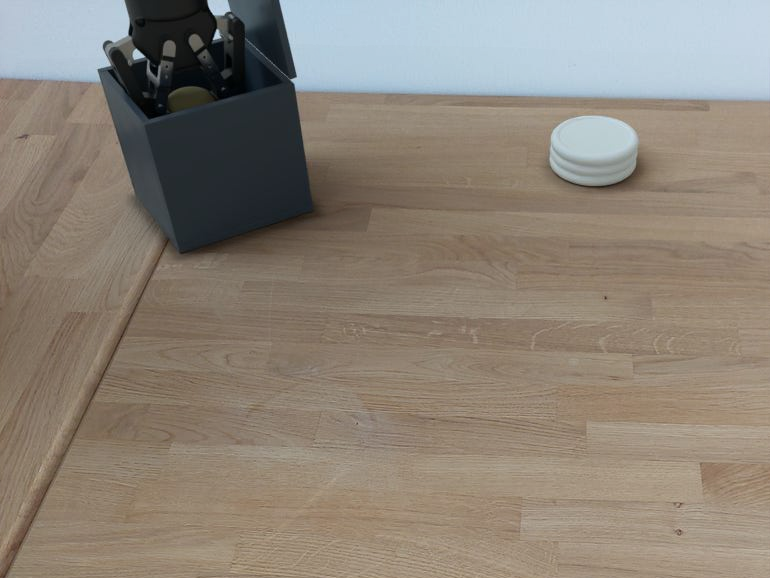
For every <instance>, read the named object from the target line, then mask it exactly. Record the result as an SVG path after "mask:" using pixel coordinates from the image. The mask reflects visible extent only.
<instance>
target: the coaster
mask: <svg viewBox="0 0 770 578" xmlns="http://www.w3.org/2000/svg"><path fill="white" fill-rule="evenodd" d="M550 135H551V136H550V147H549V153H550V154H549V164H550V167H551V170H552V171H553V172H554V173H555V174H556V175H557V176H559V177H560V178H562V179H563V180H565V181H567V182H569V183H572V184H576V185H580V186H587V187H602V186H610V185H614V184H618V183H619V182H622V181H624V180H625V179H627V178H629V177H630V176H631V175H632V174H633V173H634V171H635V169H636V167H637V158H638V153H639V150H638V148H639V145H640V139H639V135H638V133H637V132H636V131H635V129H634V128H633V127H632V126H630V124H627V123H626V122H624V121H622V120H620V119H617V118H614V117H609V116H604V115H580V116H575V117H572V118H569V119H567V120H565V121H562V122H561V123H560V124H558V125H557V126H556V127H555V128H554V129H553V131H552V132H551V134H550Z"/></svg>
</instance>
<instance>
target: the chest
mask: <svg viewBox="0 0 770 578" xmlns="http://www.w3.org/2000/svg"><path fill="white" fill-rule="evenodd" d="M209 54H210V55H211V57H212V59H213V60H214V62H215V64H216V65H217V67H218V69H219V70H220V73H221V72H223V71H224V39H223V38H221V37H219V38H214V39H213V41H212V44H211V47H210V50H209ZM147 62H148V59H147V58H146V57H145V56H144V57H141V58H136V59H134V63H133V65H132V66H131V67H130V69H131V71H132V73H133V75H134V77H135V79H136V81H137V83H138V85H139V87H140V89H141V91H142V92H147V85H148V77H147ZM96 71H97V74H98V77H99V80H100V84H101V86H102V91H103V93H104V97H105V100H106V103H107V107H108V109H109V110H108V111H109V113H110V117H111V119H112V123H113V127H114V129H115V132H116V136H117V139H118V142H119V147H120V150H121V152H122V156H123V159H124V162H125V166H126V169H127V172H128V175H129V178H130V182H131V186H132V189H133V192H134V195H135V197H136V198H137V199H138V201H139V202H140V203H141V205H143V207H144V209H146V211H147V213H148V214H149V215H150V217H151V218H152V219H153V220H154V221H155V223H156V225H158V227H159V228H160V229H161V230H162V232H163V233H164V235H165V236H166V237H167V238H168V240H169V241H170V242H171V244H172V245H173V246H174V248H175V249H176V250H177V252H178V253H179V254H183V253H187V252H189V251H192V250H196V249H199V248H202V247H206V246H208V245H211V244H214V243H217V242H221V241H223V240H227V239H230V238H233V237H236V236H239V235H243V234H245V233H249V232H252V231H255V230H258V229H261V228H264V227H267V226H270V225H273V224H277V223H281V222H282V221H286V220H290V219H292V218H295V217H299V216H302V215H305V214H307V213H311V212H313V211H314V205H313V197H312V190H311V184H310V178H309V171H308V165H307V158H306V152H305V151H306V150H305V144H304V138H303V131H302V127H301V126H302V124H301V117H300V112H299V111H300V110H299V105H298V98H297V91H296V86H295V83H294V81H292V79H291V80H290V79H289V78H288V77H287V76H286V75H285V74H284V73H283V72H281V71H280V70H279V69H278V68H277V67H276V66H275V65H274V64H273V63H272V62H271V61H269V60H268V59H267V58H266V57H265V56H264V55H263V54H262V53H261V52H260V51H259V50H258V49H256V48H255V47H254V46H253V45H252V44H251V43H250V42H249V41H248V40H247V39H246V38H245V82H244V84H243V85H242V86H236V87H234V88H233V89H232V90H231V91H230V94H229V98H226V99H223V100H219V101H215V102H212V103H208V104H204V105H201V106H197V107H193V108H190V109H186V110H182V111H179V112H175V113H171V114H168V115H164V116H160V117H157V118H153V116H152V113H151V111H144V112H142V111H141V110H140V109H139V107H138V106H137V105H136V104H135V103H134V102H133V100H132V99H131V98H130V97H129V96H128V95H127V93H126V92H125V91H124V89H123V87H122V85H121V83H120V81H119V79H118V78H117V76H116V74H115V72H114V70H113V68H112V66H111V65H108V66H105V67H100V68H97V70H96ZM190 86H193V87H200V88H203V89H205V90H207V91H209V92H210V91H212V87H211V85H210V83H209V82H208V80H207V79H206V77H205V75H204V74H203V72H202V71H201V69H197V70H185V71H183V72H181V73H180V74H177V75H174V76H172V83H171V89H170V90H169V93H168V96H169V94H171V93H172V92H173V91H175V90H177V89H179V88H183V87H190Z"/></svg>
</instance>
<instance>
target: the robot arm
mask: <svg viewBox="0 0 770 578" xmlns="http://www.w3.org/2000/svg"><path fill="white" fill-rule="evenodd" d="M208 1H209V0H124V4H125V7H126V12H127V14H128V19H129V20H128V21H129V26H128V30H127V34H128V35H126V36H124V37H122V38H121V39H119V40H117V41H115V42H114V41H112V40H110V39H107V40H105V41H104V42H103V43H102V50H103V52H104V54H105V57H106V58H107V61H108V62H109V64H110V66H112V68H113V70H114V72H115V74H116V76H117V78H118V79H119V81H120V83H121V85H122V87H123V89H124V91H125V92H126V93H127V95H128V96H129V97H130V98H131V99H132V100H133V102H134V103H135V104H136V105H137V106H138V107H139V109H140V110H141V111H142V112H144V111H151V113H152V116H153V118H157V117H160V116H164V115H168V114H170V112H169V111H168V110H167V103H168V93H169V90H170V89H171V83H172V76H174V75H177V74H180V73H181V72H183V71H185V70H197V69H201V71H202V72H203V74H204V75H205V77H206V79H207V80H208V82H209V83H210V85H211V87H212V91H210V94H211V95H212V96H213V97H214V99H215V101H219V100H223V99H226V98H229V94H230V91H231V90H232V89H233V88H234V87H236V86H242V85H243V84H244V82H245V39H246V38H245V25H244V23H243V22H242V21H241V20H240V19H239V18H238V17H237V16H236V15H235V14H233V13H232V12H231V11H227V12H226V11H225V13H224V14H223V15H221V14H219V15H218V14H216V15H214V14H213V12H212V11H211V9H210V6H209V2H208ZM217 30H218V35H219V36H220V38H223V39H224V71H223V72H221V73H220V70H219V69H218V67H217V65H216V64H215V62H214V60H213V59H212V57H211V55H210V54H209V50H210V47H211V44H212V41H213V40H214V39H215V35H216V33H217ZM135 50H137V51H138V52H139V53H140V54H142V55H143V56H144V57H146V58H147V59H148V62H147V77H148V85H147V92H142V91H141V89H140V87H139V85H138V83H137V81H136V79H135V77H134V75H133V73H132V71H131V69H130V67H131V66H132V65H133V63H134V60H135V59H134V51H135Z"/></svg>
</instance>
